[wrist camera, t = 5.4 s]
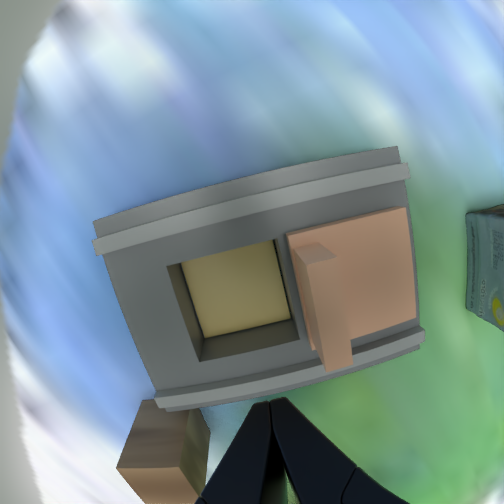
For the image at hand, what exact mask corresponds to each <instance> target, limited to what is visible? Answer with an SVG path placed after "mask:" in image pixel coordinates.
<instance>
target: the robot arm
mask: <svg viewBox="0 0 504 504" xmlns="http://www.w3.org/2000/svg"><path fill="white" fill-rule="evenodd" d="M286 473H287V476H288V480H289V482H290V485H291V488H292V491H293V493H294V496H295V499H296V501H297V504H410V503H408V502H406V501H405V500H403V499H401V498H399V497H398V496H396V495H395V494H393V493H392V492H390V491H389V490H387V489H386V488H384V487H383V486H381V485H380V484H379V483H378V482H376V481H375V480H374V479H373V478H371V477H370V476H369V475H368V474H367V473H365V472H364V471H363V470H362V469H361V468H360V467H357V465H356V464H355V463H354V462H353V461H352V460H351V459H350V458H348V457H347V456H346V455H345V454H344V453H343V452H342V451H341V450H340V449H339V448H338V447H337V446H335V445H334V444H333V443H332V442H331V441H330V440H329V439H328V438H327V437H326V436H325V435H324V434H323V433H322V432H321V431H320V430H319V429H318V428H317V427H316V426H314V425H313V424H312V423H311V422H310V421H309V420H308V419H307V418H306V417H305V416H304V415H303V414H302V413H301V412H300V411H299V410H298V409H297V408H296V407H295V406H294V405H293V404H292V403H291V402H290V401H289V400H288V399H287V398H286V397H281V398H277V399H273V400H271V401H270V402H269V401H263V402H259V403H255V404H253V405H252V407H251V409H250V411H249V413H248V415H247V416H246V418H245V420H244V422H243V423H242V425H241V427H240V429H239V431H238V432H237V434H236V436H235V438H234V439H233V441H232V443H231V444H230V446H229V448H228V450H227V451H226V453H225V455H224V456H223V458H222V460H221V461H220V463H219V465H218V466H217V468H216V470H215V471H214V473H213V475H212V476H211V478H210V480H209V481H208V483H207V484H206V486H205V488H204V489H203V491H202V492H201V494H200V496H201V497H198V498H197V500H196V502H195V503H194V504H288V497H287V478H286Z"/></svg>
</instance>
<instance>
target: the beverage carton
mask: <svg viewBox="0 0 504 504" xmlns="http://www.w3.org/2000/svg"><path fill="white" fill-rule="evenodd" d="M466 227H467V247H468V264H467V292H466V308H467V309H468V310H469V311H471V312H473V313H475V314H476V315H477V316H478V317H480V318H482V319H484V320H485V321H487V322H489V323H491V324H493V325H495V326H496V327H498V328H499V329H500V330H502V331H503V332H504V204H503V205H500V206H496V207H493V208H490V209H486V210H481V211H477V212H472V213H467V214H466Z"/></svg>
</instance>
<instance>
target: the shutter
mask: <svg viewBox="0 0 504 504" xmlns="http://www.w3.org/2000/svg"><path fill="white" fill-rule="evenodd" d="M286 238H287V242H288V246H289V251H290V255H291V260H292V264H293V269H294V273H295V278H296V283H297V287H298V292H299V297H300V301H301V306H302V311H303V316H304V321H305V326H306V331H307V336H308V341H309V344H310V347H311V349H312V351H313V350H317V353H318V355H319V357H320V359H321V362H322V364H323V366H324V368H325V371H326V373H327V372H330V371H334V370H337V369H340V368H344V367H347V366H350V365H353V358H352V349H351V341H350V340H351V339H354V338H357V337H360V336H364V335H367V334H370V333H373V332H376V331H379V330H382V329H385V328H388V327H391V326H394V325H397V324H399V323H402V322H405V321H408V320H411V319H413V318H416V302H415V285H414V272H413V261H412V252H411V243H410V235H409V227H408V220H407V213H406V207H401V206H396V207H392V208H388V209H384V210H379V211H375V212H371V213H367V214H363V215H359V216H354V217H350V218H346V219H342V220H338V221H334V222H330V223H325V224H321V225H317V226H313V227H309V228H305V229H301V230H297V231H293V232H289V233H286Z"/></svg>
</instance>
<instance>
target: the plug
mask: <svg viewBox="0 0 504 504" xmlns="http://www.w3.org/2000/svg"><path fill="white" fill-rule="evenodd" d="M209 440H210V430H209V428H208V426H207V424H206V422H205V420H204V418H203V415H202V413H201V411H200V409H199V408H195V409H188V410H181V411H173V412H166V410H165V408H159V407H158V405H157V403H156V401H155V399H151V400H142V403H141V405H140V408H139V410H138V413H137V415H136V418H135V420H134V423H133V425H132V428H131V430H130V433H129V435H128V438H127V440H126V443H125V446H124V448H123V451H122V453H121V456H120V459H119V461H118V464H117V467H116V469H117V470H118V472H119V473H120V474H121V475H122V477H123V478H124V479H125V480H126V482H127V483H128V484H129V485H130V487H131V488H132V489H133V490H134V491H135V492H136V494H137V495H138V496H139V497H140V498H141V499H142V501H143V502H144V503H145V504H194V503H195V502H196V500H197V498H198V497H201V496H200V494H201V492H202V491H203V489H204V488H205V483H206V472H207V461H208V451H209Z"/></svg>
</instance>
